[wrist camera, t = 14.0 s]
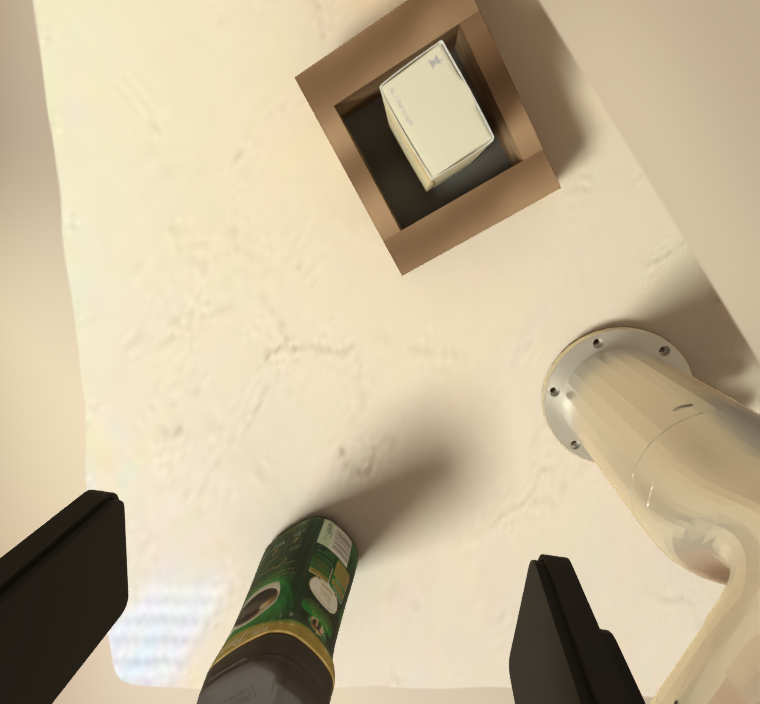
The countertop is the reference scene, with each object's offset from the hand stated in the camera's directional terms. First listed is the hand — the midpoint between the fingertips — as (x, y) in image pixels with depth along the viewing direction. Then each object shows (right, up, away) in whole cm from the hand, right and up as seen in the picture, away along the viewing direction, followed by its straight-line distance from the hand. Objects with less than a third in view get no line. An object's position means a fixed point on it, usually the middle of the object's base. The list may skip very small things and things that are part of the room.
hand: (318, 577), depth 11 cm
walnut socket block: (+5, +22, +28) cm, 36 cm away
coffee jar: (-6, -16, +39) cm, 43 cm away
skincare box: (+6, +22, +28) cm, 36 cm away
